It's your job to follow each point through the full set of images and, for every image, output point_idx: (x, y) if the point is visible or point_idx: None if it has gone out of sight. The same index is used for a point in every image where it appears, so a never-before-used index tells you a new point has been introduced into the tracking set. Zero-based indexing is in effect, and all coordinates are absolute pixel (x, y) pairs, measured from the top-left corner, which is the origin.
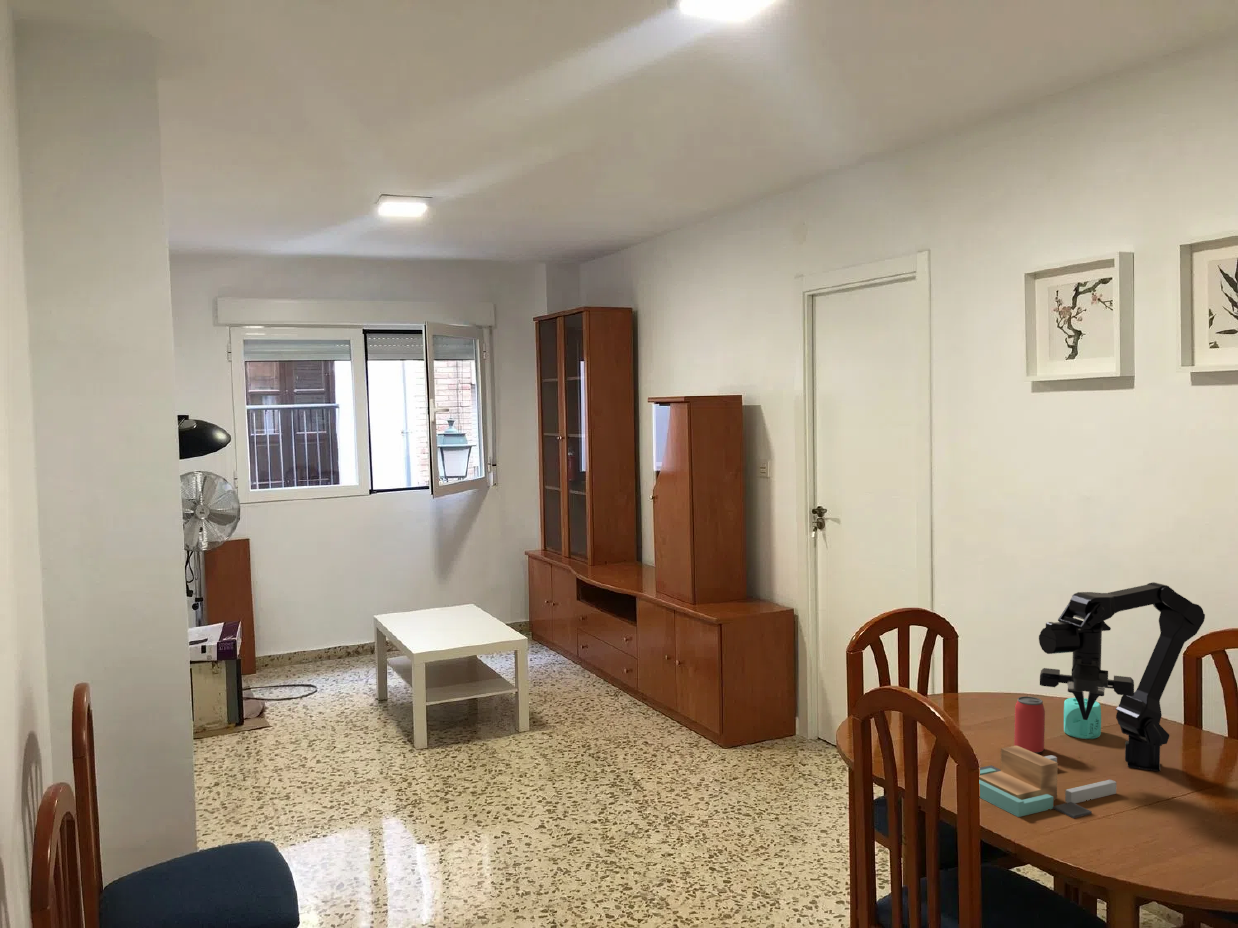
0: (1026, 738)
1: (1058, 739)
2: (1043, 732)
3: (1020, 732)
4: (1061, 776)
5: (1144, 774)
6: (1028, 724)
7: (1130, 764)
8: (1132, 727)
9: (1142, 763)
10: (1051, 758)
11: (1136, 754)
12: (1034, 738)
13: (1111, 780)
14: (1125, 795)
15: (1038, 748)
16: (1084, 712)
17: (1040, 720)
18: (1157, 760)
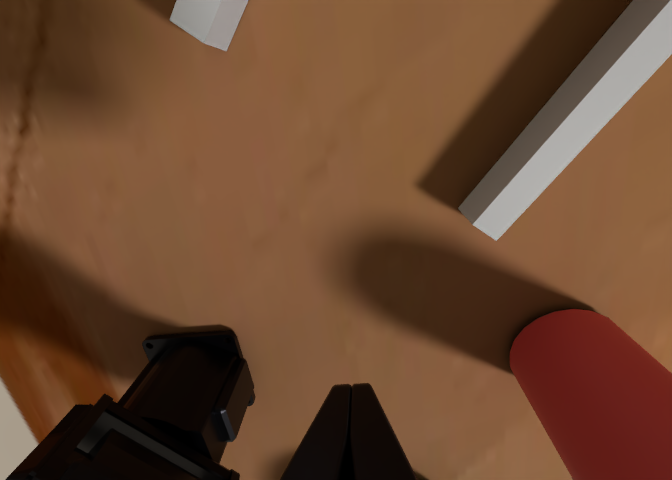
0: (615, 343)
1: (459, 452)
2: (549, 401)
3: (660, 366)
4: (434, 118)
5: (177, 297)
6: (666, 401)
7: (227, 344)
8: (127, 467)
9: (186, 349)
10: (497, 195)
11: (194, 373)
12: (580, 352)
13: (195, 29)
14: (160, 30)
15: (536, 331)
16: (358, 446)
17: (611, 444)
18: (142, 374)
